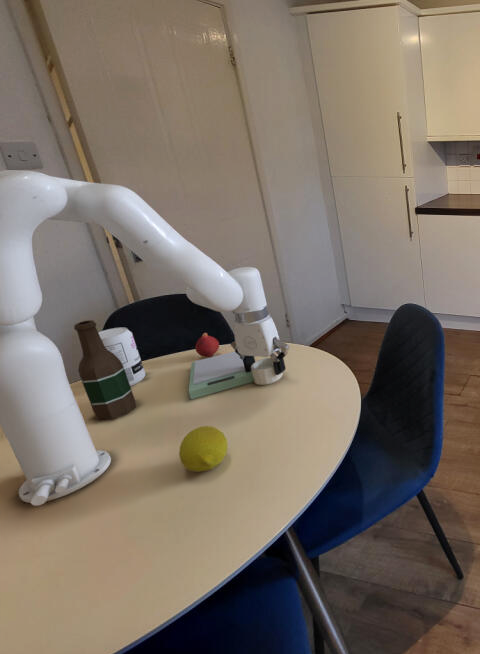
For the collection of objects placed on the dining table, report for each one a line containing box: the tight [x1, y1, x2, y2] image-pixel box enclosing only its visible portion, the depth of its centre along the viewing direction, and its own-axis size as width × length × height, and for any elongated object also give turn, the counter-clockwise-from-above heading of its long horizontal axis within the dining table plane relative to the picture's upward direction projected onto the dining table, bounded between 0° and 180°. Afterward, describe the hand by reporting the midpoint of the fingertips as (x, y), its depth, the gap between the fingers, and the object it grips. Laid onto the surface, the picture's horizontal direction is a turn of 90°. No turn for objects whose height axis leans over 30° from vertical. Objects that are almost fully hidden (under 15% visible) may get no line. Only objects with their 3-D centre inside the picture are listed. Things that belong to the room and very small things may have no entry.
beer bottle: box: [73, 319, 137, 421], centre depth 99 cm, size 8×8×24 cm
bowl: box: [251, 356, 283, 386], centre depth 114 cm, size 7×7×5 cm
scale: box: [188, 350, 255, 400], centre depth 117 cm, size 18×14×3 cm
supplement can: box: [98, 326, 146, 387], centre depth 113 cm, size 8×8×15 cm
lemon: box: [178, 425, 228, 473], centre depth 84 cm, size 11×8×8 cm
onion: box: [194, 332, 220, 358], centre depth 126 cm, size 6×6×8 cm
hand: (265, 371), depth 114 cm, fingers open, 8 cm apart
